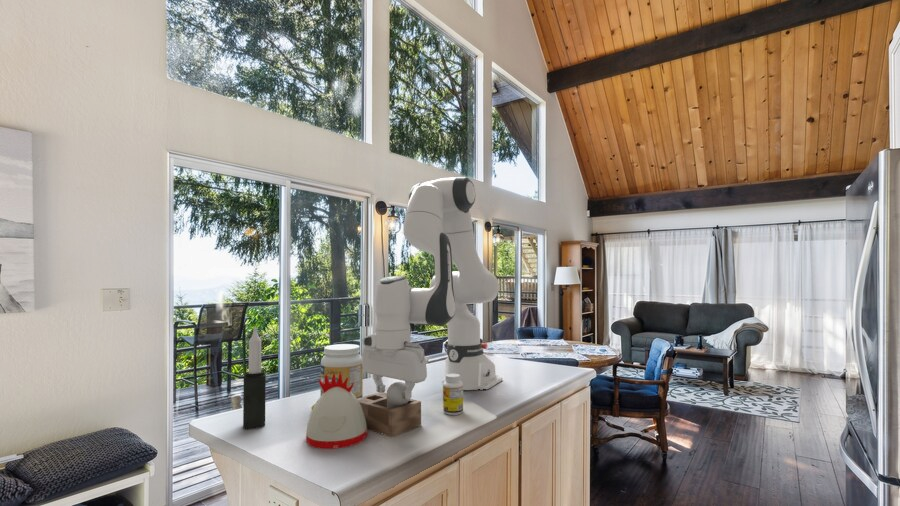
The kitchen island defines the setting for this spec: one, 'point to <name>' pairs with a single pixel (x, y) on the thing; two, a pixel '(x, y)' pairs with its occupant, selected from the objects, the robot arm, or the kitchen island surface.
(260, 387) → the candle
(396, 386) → the lightbulb
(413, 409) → the socket block
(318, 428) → the kitchen timer
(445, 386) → the supplement bottle
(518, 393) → the kitchen island surface
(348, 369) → the supplement tub
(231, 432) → the kitchen island surface
